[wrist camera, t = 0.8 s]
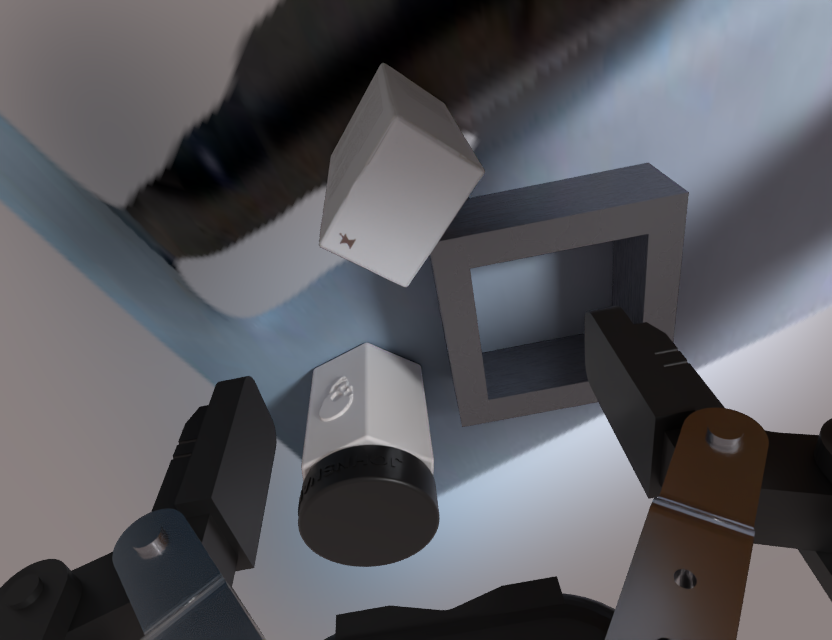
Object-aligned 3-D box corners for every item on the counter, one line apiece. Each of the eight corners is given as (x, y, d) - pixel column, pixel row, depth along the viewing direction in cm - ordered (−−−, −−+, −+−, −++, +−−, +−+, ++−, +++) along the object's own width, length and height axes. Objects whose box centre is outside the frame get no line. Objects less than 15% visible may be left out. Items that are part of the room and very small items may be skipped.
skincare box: (393, 192, 33) (405, 294, 23) (329, 155, 32) (312, 248, 22) (449, 101, 31) (490, 172, 21) (382, 56, 29) (391, 110, 19)
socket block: (648, 162, 33) (688, 192, 29) (637, 345, 41) (668, 389, 37) (420, 207, 34) (428, 243, 30) (452, 379, 42) (462, 427, 37)
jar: (392, 324, 38) (401, 454, 28) (445, 398, 43) (470, 534, 33) (286, 378, 40) (260, 517, 30) (347, 444, 45) (342, 585, 35)
